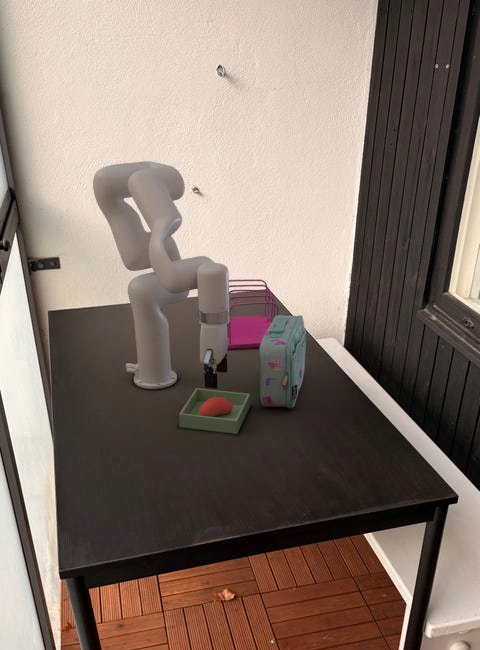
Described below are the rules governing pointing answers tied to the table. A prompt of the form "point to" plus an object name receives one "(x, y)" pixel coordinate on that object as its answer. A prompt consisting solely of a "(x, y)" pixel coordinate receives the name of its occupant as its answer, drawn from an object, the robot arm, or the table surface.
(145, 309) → the robot arm
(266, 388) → the lunch box
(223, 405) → the red oval piece
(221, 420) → the tote
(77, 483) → the table surface
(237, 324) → the file sorter
